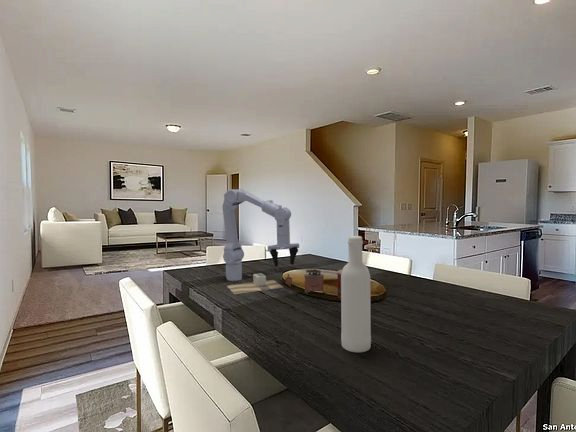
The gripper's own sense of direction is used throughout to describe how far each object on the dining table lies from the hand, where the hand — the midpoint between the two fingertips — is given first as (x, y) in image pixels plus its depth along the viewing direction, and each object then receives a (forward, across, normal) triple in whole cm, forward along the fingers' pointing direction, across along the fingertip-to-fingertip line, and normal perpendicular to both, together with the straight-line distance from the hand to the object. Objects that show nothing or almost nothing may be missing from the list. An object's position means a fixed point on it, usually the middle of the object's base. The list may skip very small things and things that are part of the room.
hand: (284, 265), depth 149 cm
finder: (+8, -10, +4) cm, 14 cm away
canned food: (+10, +16, -27) cm, 33 cm away
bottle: (+10, -4, -62) cm, 63 cm away
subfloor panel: (+10, -13, +2) cm, 17 cm away
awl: (+10, +2, -1) cm, 10 cm away
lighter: (+10, +8, -14) cm, 19 cm away
